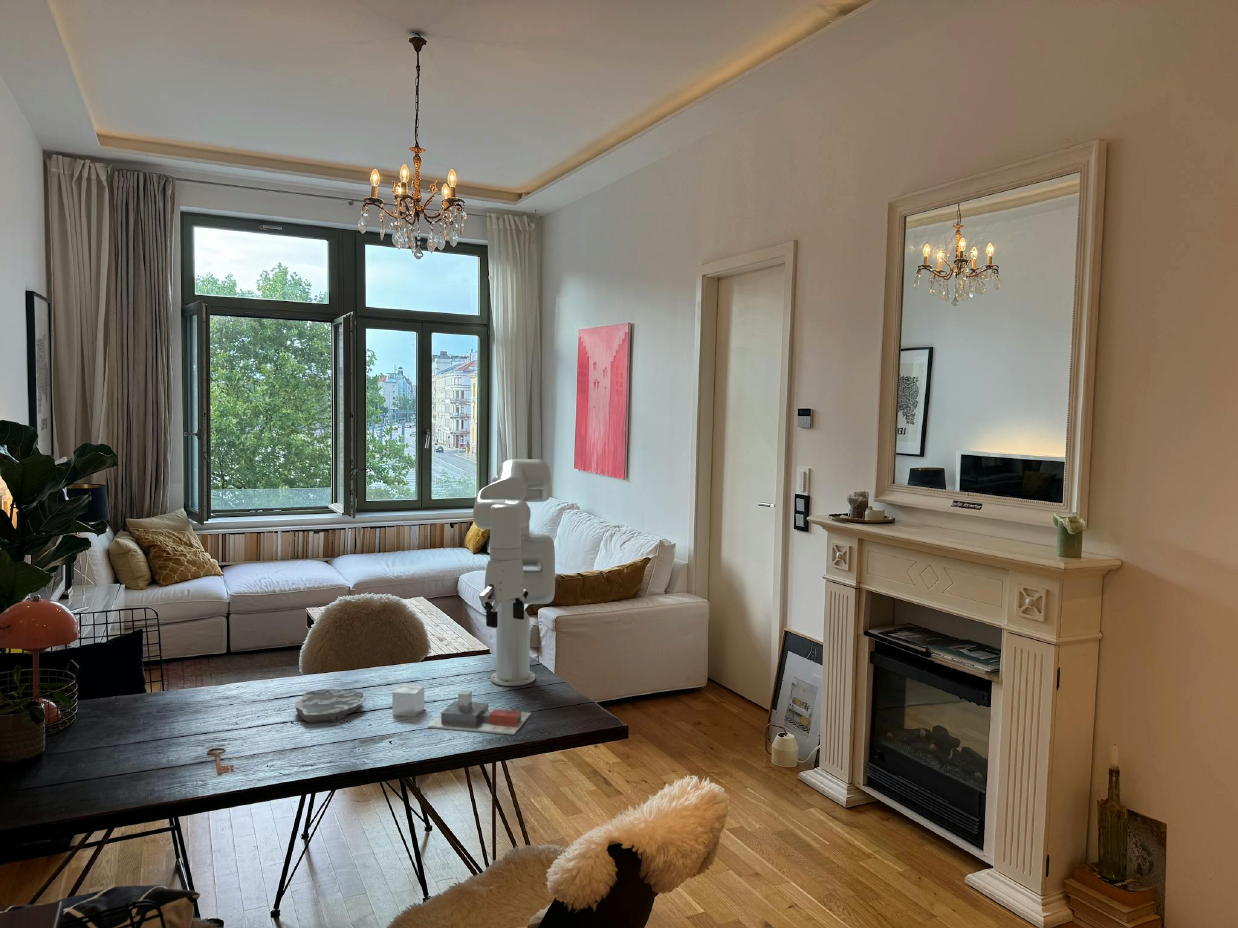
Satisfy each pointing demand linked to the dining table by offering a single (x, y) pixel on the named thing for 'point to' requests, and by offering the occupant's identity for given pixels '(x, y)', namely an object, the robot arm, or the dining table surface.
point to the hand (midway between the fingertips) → (505, 622)
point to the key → (217, 757)
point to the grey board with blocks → (478, 717)
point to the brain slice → (328, 704)
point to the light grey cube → (408, 700)
